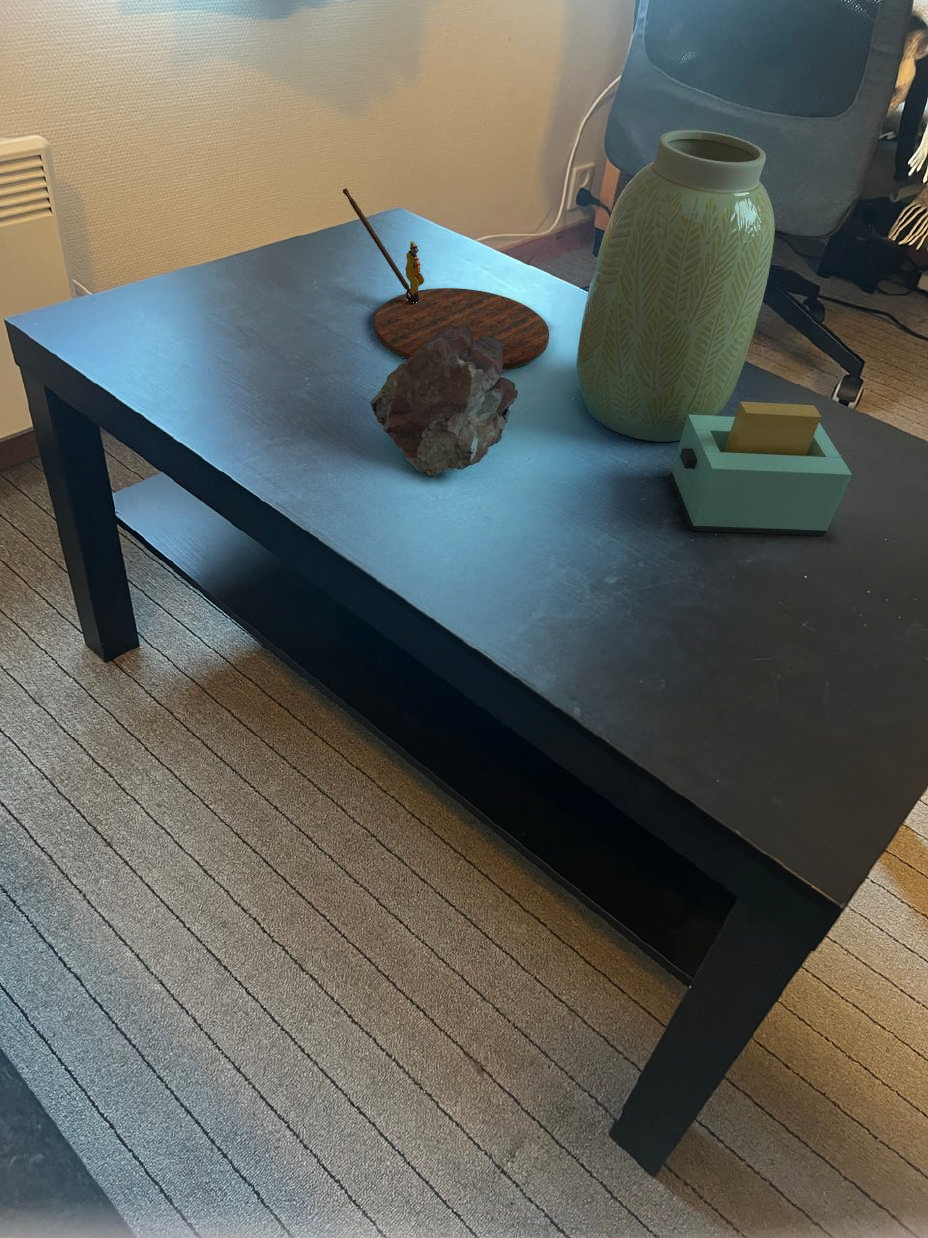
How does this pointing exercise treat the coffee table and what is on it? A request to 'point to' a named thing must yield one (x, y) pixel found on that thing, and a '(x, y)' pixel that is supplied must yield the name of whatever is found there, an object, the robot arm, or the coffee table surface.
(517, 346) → the incense holder
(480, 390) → the mineral specimen
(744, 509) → the toaster
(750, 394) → the coffee table surface
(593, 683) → the coffee table surface
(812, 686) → the coffee table surface
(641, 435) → the vase
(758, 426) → the toast
